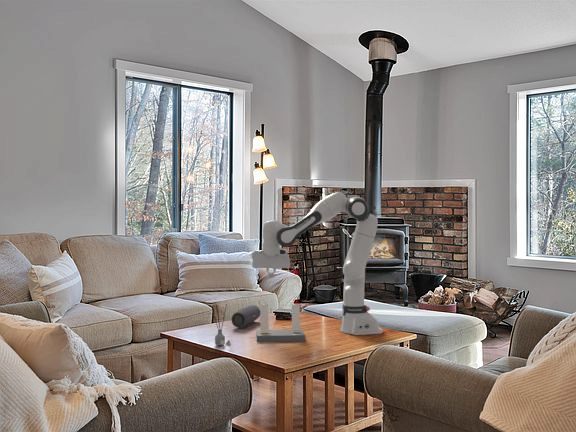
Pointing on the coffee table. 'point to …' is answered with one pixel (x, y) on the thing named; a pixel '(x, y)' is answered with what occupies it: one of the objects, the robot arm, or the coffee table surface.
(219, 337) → the reed diffuser
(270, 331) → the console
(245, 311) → the bluetooth speaker
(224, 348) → the coffee table surface
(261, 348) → the coffee table surface
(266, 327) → the lever
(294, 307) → the lever
